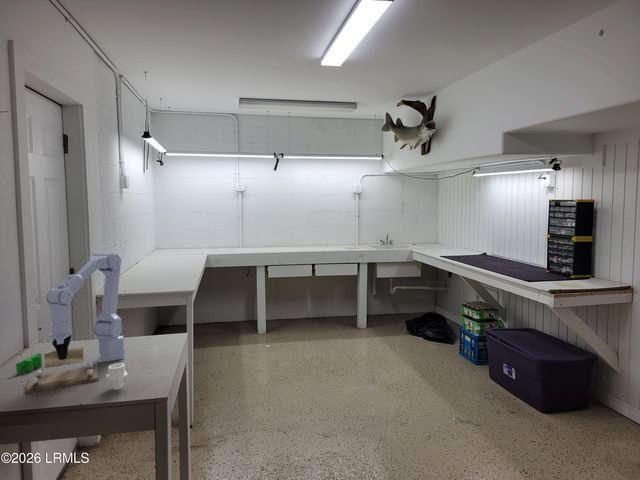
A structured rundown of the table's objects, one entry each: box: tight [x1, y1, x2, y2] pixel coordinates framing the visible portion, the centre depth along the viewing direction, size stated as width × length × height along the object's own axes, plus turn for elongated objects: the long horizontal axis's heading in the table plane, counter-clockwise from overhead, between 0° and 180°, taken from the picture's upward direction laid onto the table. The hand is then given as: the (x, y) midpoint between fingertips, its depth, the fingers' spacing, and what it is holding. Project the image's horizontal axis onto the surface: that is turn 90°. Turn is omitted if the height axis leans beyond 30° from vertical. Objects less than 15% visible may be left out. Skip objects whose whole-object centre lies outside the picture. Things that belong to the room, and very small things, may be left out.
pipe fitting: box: [105, 362, 129, 391], centre depth 152 cm, size 6×7×8 cm
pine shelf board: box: [43, 346, 85, 369], centre depth 158 cm, size 3×12×5 cm, turn 116°
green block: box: [15, 352, 43, 375], centre depth 170 cm, size 11×4×5 cm, turn 173°
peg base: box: [25, 361, 100, 394], centre depth 158 cm, size 22×12×4 cm, turn 117°
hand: (63, 357), depth 158 cm, fingers closed on pine shelf board, 3 cm apart
